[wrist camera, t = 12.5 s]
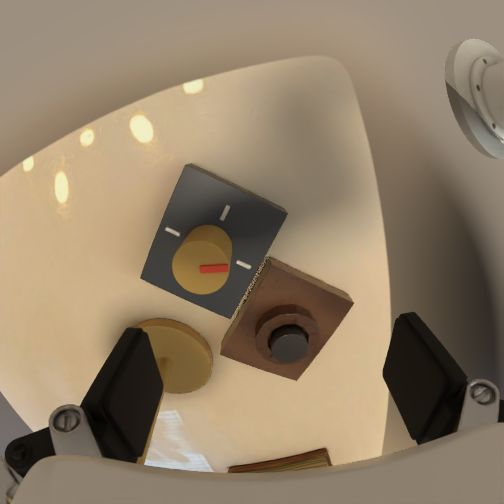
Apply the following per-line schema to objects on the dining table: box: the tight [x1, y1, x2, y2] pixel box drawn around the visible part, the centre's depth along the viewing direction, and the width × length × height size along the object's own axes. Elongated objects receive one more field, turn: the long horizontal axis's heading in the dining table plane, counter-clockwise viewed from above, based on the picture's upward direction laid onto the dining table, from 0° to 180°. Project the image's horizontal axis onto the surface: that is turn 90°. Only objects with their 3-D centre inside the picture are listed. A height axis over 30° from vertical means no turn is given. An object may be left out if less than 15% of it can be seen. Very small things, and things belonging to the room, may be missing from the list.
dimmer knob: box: [172, 225, 232, 294], centre depth 24 cm, size 4×4×5 cm
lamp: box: [135, 319, 213, 465], centre depth 18 cm, size 13×13×32 cm
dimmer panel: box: [140, 164, 288, 319], centre depth 27 cm, size 12×10×3 cm
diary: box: [228, 449, 332, 473], centre depth 43 cm, size 23×19×6 cm
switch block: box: [220, 257, 354, 381], centre depth 30 cm, size 12×10×4 cm
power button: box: [270, 325, 308, 363], centre depth 28 cm, size 4×4×2 cm
